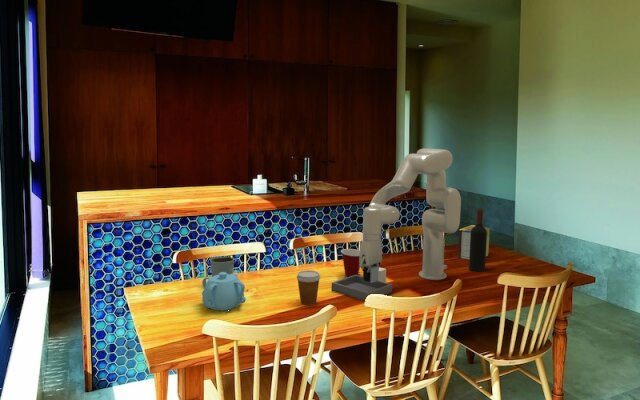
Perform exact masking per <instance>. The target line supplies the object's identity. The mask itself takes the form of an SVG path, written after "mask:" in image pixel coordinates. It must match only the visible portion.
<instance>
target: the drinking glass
mask: <svg viewBox="0 0 640 400" xmlns="http://www.w3.org/2000/svg"><path fill="white" fill-rule="evenodd" d="M209 261H210V262H209V263H210V269H211V277H213V276H215V275H219V273H221V272H226V273H227V274H234V266H235V265H234V263H235V258H234V257H231V256H216V257H212V258H210V260H209Z"/></svg>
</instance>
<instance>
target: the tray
mask: <svg viewBox="0 0 640 400" xmlns="http://www.w3.org/2000/svg"><path fill="white" fill-rule="evenodd" d="M331 291H332V292H335V293H338V294H340V295H344V296H347V297H351V298H353V299H356V300H360V301H363V302H366V301H365V299H366V297H367V296H368V295H370V294H384V295H385V296H387V294H388V295H389V294H392V293H393V284H392V283H388V282H381V281H376V282H373V283H370V282H366V281H363V275H360V274H358V275H353V276H350V277H345V278H341V279H338V280H336V281H332V282H331Z"/></svg>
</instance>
